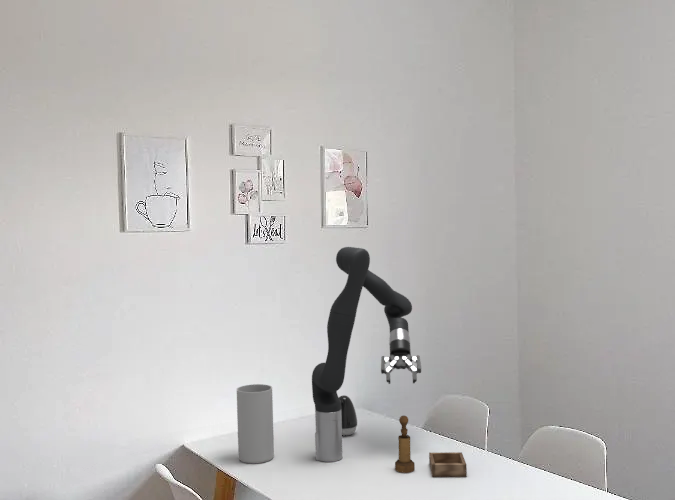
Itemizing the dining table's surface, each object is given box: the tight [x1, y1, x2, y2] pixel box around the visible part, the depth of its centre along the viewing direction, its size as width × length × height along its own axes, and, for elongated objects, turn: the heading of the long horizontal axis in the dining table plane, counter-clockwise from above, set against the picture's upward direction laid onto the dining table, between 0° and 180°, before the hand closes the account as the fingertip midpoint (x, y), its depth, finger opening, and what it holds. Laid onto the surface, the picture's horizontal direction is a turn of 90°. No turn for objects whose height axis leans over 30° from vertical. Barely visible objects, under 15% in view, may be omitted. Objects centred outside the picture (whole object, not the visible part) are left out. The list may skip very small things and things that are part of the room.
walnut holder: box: [428, 451, 468, 478], centre depth 227 cm, size 11×12×4 cm
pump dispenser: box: [338, 394, 358, 437], centre depth 270 cm, size 10×10×15 cm
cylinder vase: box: [236, 383, 275, 465], centre depth 243 cm, size 12×12×25 cm
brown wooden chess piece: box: [394, 415, 416, 474], centre depth 228 cm, size 7×6×18 cm
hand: (401, 382), depth 240 cm, fingers open, 8 cm apart
